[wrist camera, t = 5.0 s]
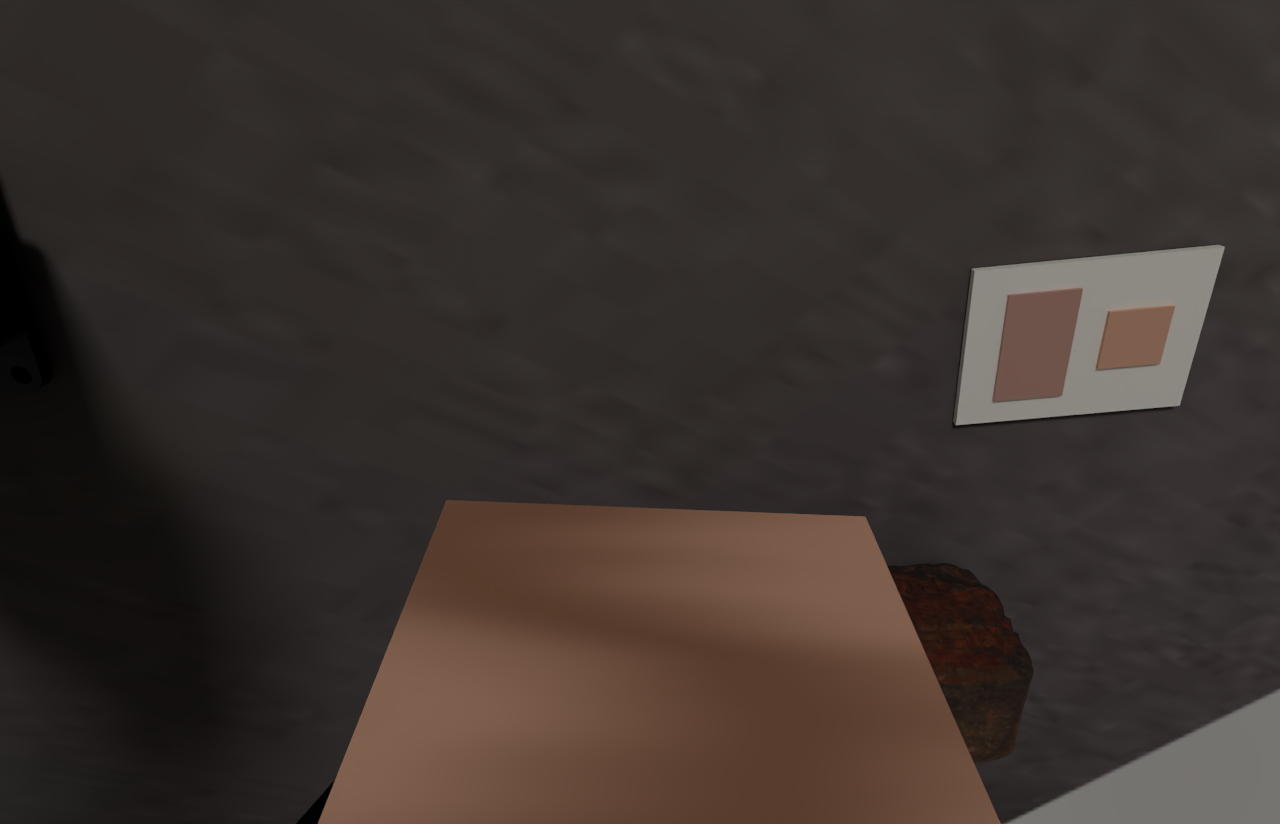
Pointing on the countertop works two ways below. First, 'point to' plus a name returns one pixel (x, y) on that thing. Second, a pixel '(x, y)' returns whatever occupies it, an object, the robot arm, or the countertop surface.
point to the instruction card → (1082, 334)
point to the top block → (654, 678)
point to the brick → (969, 653)
